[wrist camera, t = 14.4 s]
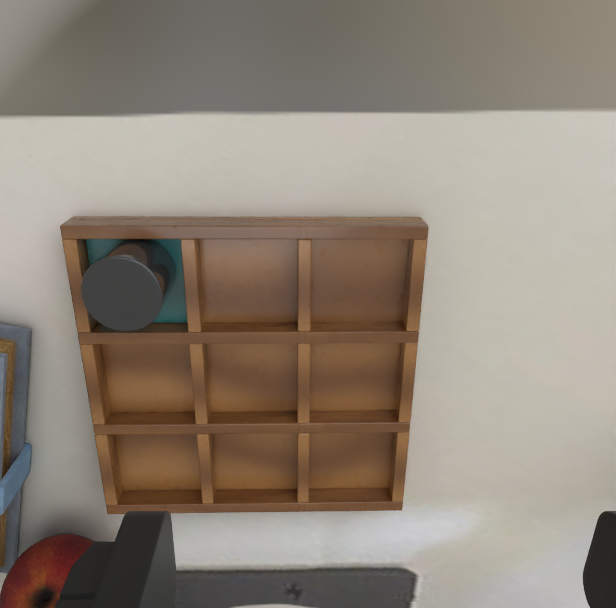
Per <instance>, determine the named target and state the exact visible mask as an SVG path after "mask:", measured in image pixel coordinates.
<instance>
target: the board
mask: <svg viewBox="0 0 616 608" xmlns="http://www.w3.org/2000/svg"><path fill="white" fill-rule="evenodd" d="M60 228H61V234H62V239H63V246H64V252H65V258H66V265H67V271H68V277H69V283H70V289H71V295H72V301H73V307H74V313H75V319H76V325H77V331H78V338H79V344H80V348H81V354H82V360H83V367H84V373H85V379H86V385H87V391H88V397H89V403H90V409H91V415H92V421H93V424H94V425H93V427H94V433H95V440H96V446H97V452H98V458H99V464H100V470H101V476H102V482H103V488H104V494H105V500H106V506H107V512H108V514H126V513H127V512H128V511H169V512H170V513H214V512H298V511H382V510H402V506H403V495H404V484H405V474H406V463H407V452H408V441H409V430H410V420H411V409H412V399H413V388H414V377H415V366H416V356H417V345H418V335H419V323H420V312H421V302H422V291H423V280H424V270H425V259H426V248H427V237H428V225H427V224H426V223H425V222H424V220H423V219H422V218H421V217H72V218H71V219H69V220H68V221H66V222H65V223H64V224H62V225H61V226H60ZM119 239H152V240H154V241H156V242H158V243H160V244H161V245H162V246H163V247H164V248H165V249H166V250H167V251H168V252H169V253H170V255H171V257H172V258H173V261H174V263H175V267H176V280H175V283H174V286H173V288H172V290H171V292H170V294H169V296H168V298H167V299H166V301H165V303H164V305H163V307H162V309H161V311H160V313H159V314H158V316H157V317H156V319H155V320H154V321H153V322H152V323H150V324H149V325H147V326H146V327H144V328H141V329H138V330H134V331H119V330H114V329H111V328H109V327H106V326H104V325H103V324H101V323H99V322H98V321H97V320H96V319H94V318H93V317H92V315H91V314H90V313H89V312H88V310H87V309H86V307H85V305H84V302H83V300H82V295H81V283H82V279H83V277H84V275H85V273H86V271H87V270H88V269H89V267H90V266H91V265H92V264H93V263H94V262H95V261H96V260H97V259H98V258H99V257H100V256H101V255H102V254H103V253H104V252H105V251H106V250H107V249H108V248H109V247H110V246H111V245H112V244H113V243H114V242H116V241H117V240H119Z"/></svg>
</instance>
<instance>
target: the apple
mask: <svg viewBox="0 0 616 608" xmlns="http://www.w3.org/2000/svg"><path fill="white" fill-rule="evenodd" d="M93 543H94V542H93V541H92V540H90V539H87V538H84V537H82V536H77V535H71V534H63V535H56V536H51V537H48V538H45V539H43V540H41V541H39V542H37V543H35V544H34V545H32V546H31V547H29V548H28V549H27V550H26V551H25V552H24V553H22V554H21V556H20V557H19V558H18V559H17V560H16V562H15V563H14V565H13V566H12V568H11V569H10V571H9V573H8V574H7V576H6V578H5V581H4V583H3V586H2V590H1V594H0V608H54V606H55V604H56V602H57V600H59V598H60V592H61V590H62V588H63V586H64V583H65V581H66V579H67V576H68V574H69V572H70V569H71V567H72V565H73V564H74V563H75V562H76V561H77V560H78V559H79V558H80V557H81V556H82V555H83V554H84V552H85V551H86V550H87V549H88V548H89V547H90V546H91V545H92V544H93Z"/></svg>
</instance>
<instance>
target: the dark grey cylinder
mask: <svg viewBox="0 0 616 608" xmlns="http://www.w3.org/2000/svg"><path fill="white" fill-rule="evenodd" d="M175 280H176V267H175V263H174V261H173V258H172V257H171V255H170V253H169V252H168V251H167V250H166V249H165V248H164V247H163V246H162V245H161V244H160V243H158V242H156V241H154V240H152V239H119V240H117V241H116V242H114V243H113V244H112V245H111V246H110V247H109V248H108V249H107V250H106V251H105V252H104V253H103V254H102V255H101V256H100V257H99V258H98V259H97V260H96V261H95V262H94V263H93V264H92V265H91V266H90V267H89V269H88V270H87V271H86V273H85V275H84V277H83V279H82V283H81V295H82V300H83V302H84V305H85V307H86V309H87V310H88V312H89V313H90V314H91V315H92V317H93V318H94V319H96V320H97V321H98V322H99V323H101V324H103V325H104V326H106V327H109V328H111V329H114V330H119V331H134V330H138V329H141V328H144V327H146V326H147V325H149V324H150V323H152V322H153V321H154V320H155V319H156V317H157V316H158V314H159V313H160V311H161V309H162V307H163V305H164V303H165V301H166V299H167V298H168V296H169V294H170V292H171V290H172V288H173V286H174V283H175Z"/></svg>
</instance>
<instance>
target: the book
mask: <svg viewBox="0 0 616 608" xmlns="http://www.w3.org/2000/svg"><path fill="white" fill-rule="evenodd" d="M30 345H31V329H27V328H22V327H17V326H12V325H6V324H1V323H0V572H2V573H9V571H10V569H11V568H12V566H13V565H14V563H15V562H16V560H17V551H18V535H19V519H20V504H21V488H22V483H23V482H24V480H25V479H26V477H27V476H28V474H29V472H30V462H31V447H32V446H31V445H30V444H27V443H24V440H25V424H26V408H27V393H28V377H29V361H30Z"/></svg>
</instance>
